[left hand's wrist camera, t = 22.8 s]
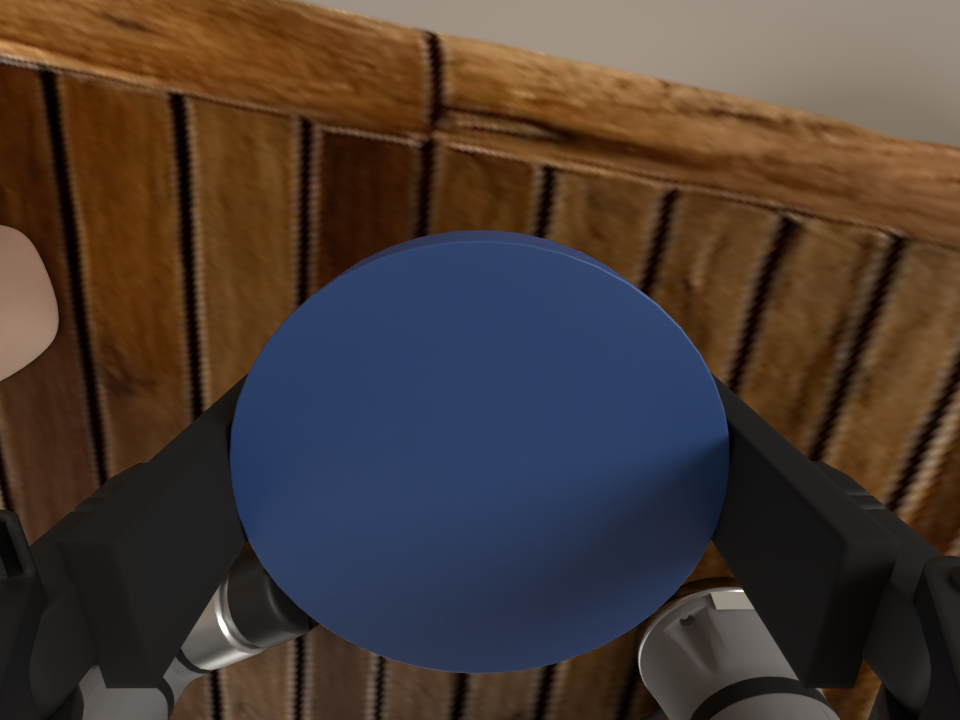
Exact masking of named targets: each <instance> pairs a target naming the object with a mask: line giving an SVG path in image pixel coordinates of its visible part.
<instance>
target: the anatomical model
mask: <svg viewBox="0 0 960 720" xmlns="http://www.w3.org/2000/svg"><path fill="white" fill-rule="evenodd" d="M58 323H59V315H58V307H57V301H56V297H55V294H54V290H53V287H52V284H51V281H50V278H49V276H48V273H47V271H46V269H45V266H44V264H43V262H42V260H41V258H40V256H39V254H38V252H37V250H36V248H35V247H34V245H33V244H32V243H31V241H30V240H29V239H28V238H27V237H26V236H25V235H24V234H22V233H21V232H20V231H18V230H16V229H14V228H10V227H7V226H2V225H0V381H1V380H3V379H5V378H7V377H9V376H11V375H12V374H14V373H16V372H17V371H19V370H20V369H22V368H23V367H25V366H26V365H27V364H29V363H30V362H32V361H33V360H34V359H35V358H37V357H38V356H39V355H40V354H41V353H42V352H43V351H45V350H46V349H47V348H48V346H49V345H50V344H51V343H52V341H53V340H54V338H55V336H56V333H57V330H58Z"/></svg>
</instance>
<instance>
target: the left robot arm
mask: <svg viewBox="0 0 960 720" xmlns="http://www.w3.org/2000/svg"><path fill="white" fill-rule="evenodd" d="M710 373H711V372H710ZM711 375H712V377H713V379H714V381H715V383H716V386H717V389H718V392H719V395H720V398H721V401H722V404H723V407H724V410H725V416H726V422H727V428H728V434H729V440H730V472H729V478H728V483H727V489H726V495H725V500H724V504H723V509H722V512H721V516H720V519H719V522H718V525H717V527H716V529H715V532H714V534H713V536H712V538H711V540H712V541H713V543H714V545H715V546H716V548H717V549H718V551H719V553H720V554H721V556H722V557H723V559H724V561H725V562H726V564H727V565H728V567H729V569H730V570H731V572H732V574H733V575H734V577H735V578H714V579H707V580H702V581H699V582H695V583H692V584H689V585H686V586H684V587H682V588H679V589H678V590H677V591H676V592H675V593H674V594H673V595H672V596H671V597H670V598H669V599H668V600H667V601H666V602H665V603H664V604H663V605H662V606H660V607H659V608H658V609H657V610H656V611H655V612H654V613H653V614H651V615H650V616H649V617H647V618H646V619H645V620H643V621H642V622H641V624H640V626H639V628H638V631H637V634H636V638H635V646H634V649H635V657H636V661H637V664H638V667H639V671H640V674H641V677H642V679H643V682H644V684H645V686H646V687H647V689H648V690H649V692H650V693H651V695H652V696H653V697H654V698H655V699H656V700H657V702H658V703H659V705H660V706H661V707H659V708H658V709H657V710H655V711H654V712H652V713H651V714H650V715H648V716H646V717H644V718H642V719H640V720H661V719H663V718H664V717H666V716H668V718H669V719H670V720H840V719H839V718H838V716H837V715H836V713H835V712H834V710H833V709H832V707H831V706H830V704H829V703H828V701H827V700H826V698H825V696H824V695H823V693H822V690H821V688H854V685H855V682H856V679H857V676H858V673H859V670H860V667H861V664H862V661H863V658H864V659H865V661H866V662H867V663H868V665H869V666H870V667H871V668H872V670H873V671H874V672H875V673H876V675H877V676H878V677H879V679H880V680H881V681H882V683H881V686H880V688H879V691H878V694H877V697H876V699H875V702H874V705H873V708H872V711H871V713H870V716H869V719H868V720H960V557H956V556H944V555H943V554H942V553H940V552H939V551H938V550H937V549H936V548H934V547H933V546H932V545H931V544H930V543H928V542H927V541H926V540H925V539H924V538H922V537H921V536H920V535H919V534H918V533H916V532H915V531H914V530H913V529H912V528H910V527H909V526H908V525H907V524H906V523H904V522H903V521H902V520H901V519H900V518H899V517H897V516H896V515H895V514H894V513H893V512H891V511H890V510H886V509H885V506H884V505H883V504H882V503H881V502H879V501H878V500H877V499H876V498H875V497H873V496H869V495H868V492H867V491H866V490H865V489H864V488H863V487H861V486H860V485H859V484H858V483H857V482H855V481H854V480H853V479H852V478H851V477H849V476H848V475H846V474H844V473H842V472H840V471H839V470H837V469H835V468H833V467H831V466H829V465H827V464H825V463H823V462H821V461H810V460H809V459H807V458H806V457H805V456H804V455H803V454H802V453H801V452H800V451H798V450H797V449H796V448H795V447H794V446H793V445H792V444H791V443H789V442H788V441H787V440H786V439H785V438H784V437H783V436H782V435H780V434H779V433H778V432H777V431H776V430H775V429H774V428H773V427H771V426H770V425H769V424H768V423H767V422H766V421H765V420H764V419H762V418H761V417H760V416H759V415H758V414H757V413H756V412H755V411H753V410H752V409H751V408H750V407H749V406H748V405H747V404H746V403H744V402H743V401H742V400H741V399H740V398H739V397H738V396H737V395H735V394H734V393H733V392H732V391H731V390H730V389H729V388H728V387H726V386H725V385H724V384H723V383H722V382H721V381H720V380H719V379H717V378H716V377H715V376H714V375H713V374H712V373H711ZM247 376H248V374H247V375H246V376H244V377H243V378H242V379H241V380H240V381H239V382H238V383H237V384H235V385H234V386H233V387H232V388H231V389H230V390H229V391H228V392H226V393H225V394H224V395H223V396H222V397H221V398H220V399H219V400H217V401H216V402H215V403H214V404H213V405H212V406H211V407H210V408H208V409H207V410H206V411H205V412H204V413H203V414H202V415H201V416H199V417H198V418H197V419H196V420H195V421H194V422H193V423H192V424H190V425H189V426H188V427H187V428H186V429H185V430H184V431H183V432H181V433H180V434H179V435H178V436H177V437H176V438H175V439H174V440H172V441H171V442H170V443H169V444H168V445H167V446H166V447H165V448H163V449H162V450H161V451H160V452H159V453H158V454H157V455H156V456H154V457H153V458H152V459H151V460H150V461H149V462H148V463H138V464H137V465H135V466H133V467H131V468H129V469H127V470H125V471H123V472H121V473H119V474H117V475H116V476H114V477H112V478H111V479H109V480H108V481H107V482H106V483H105V484H103V485H102V486H101V487H100V488H99V489H97V490H96V491H95V492H94V493H93V494H92V497H91V498H87V499H86V500H84V501H83V502H82V503H81V504H80V505H78V506H77V507H76V508H75V512H70V513H69V514H68V515H67V516H65V517H64V518H63V519H62V520H61V521H59V522H58V523H57V524H56V525H55V526H54V527H52V528H51V529H50V530H49V531H48V532H46V533H45V534H44V535H43V536H42V537H40V538H39V539H38V540H37V541H36V542H35V543H33V544H32V545H31V546H30V547H29V545H28V542H27V539H26V537H25V534H24V531H23V528H22V526H21V523H20V520H19V517H18V515H17V514H15V513H13V512H11V511H9V510H0V720H82V719H83V712H84V700H83V694H82V691H81V688H80V686H79V682H80V681H81V680H82V679H83V677H84V676H85V675H86V673H87V672H88V671H89V670H90V668H91V667H92V666H93V664H94V663H95V662H96V661H97V662H98V665H99V668H100V671H101V674H102V677H103V680H104V683H105V686H106V688H156V687H157V686H158V684H159V682H160V681H161V679H162V677H163V676H164V674H165V673H166V671H167V669H168V668H169V666H170V665H171V663H172V661H173V660H174V658H175V657H176V655H177V653H178V652H179V650H180V649H181V647H182V645H183V644H184V642H185V640H186V639H187V637H188V636H189V634H190V632H191V631H192V629H193V628H194V626H195V624H196V623H197V621H198V620H199V618H200V616H201V615H202V613H203V612H204V610H205V608H206V607H207V605H208V604H209V602H210V600H211V599H212V597H213V595H214V594H215V592H216V591H217V589H218V587H219V586H220V584H221V583H222V581H223V579H224V578H225V576H226V575H227V573H228V571H229V570H230V568H231V567H232V565H233V563H234V562H235V560H236V559H237V557H238V555H239V554H240V552H241V550H242V549H243V547H244V546H245V544H246V542H247V541H248V538H247V536H246V533H245V531H244V528H243V526H242V523H241V521H240V518H239V516H238V512H237V507H236V502H235V497H234V492H233V487H232V481H231V475H230V463H229V453H230V438H231V428H232V423H233V419H234V414H235V410H236V406H237V401H238V398H239V396H240V393H241V391H242V388H243V386H244V383H245V381H246V378H247Z"/></svg>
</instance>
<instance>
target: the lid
mask: <svg viewBox="0 0 960 720" xmlns="http://www.w3.org/2000/svg"><path fill="white" fill-rule="evenodd" d="M229 463H230V475H231V481H232V487H233V492H234V497H235V502H236V507H237V512H238V516H239V518H240V521H241V523H242V526H243V528H244V531H245V533H246V536H247V538H248V541H249V542H250V544H251V546H252V548H253V549H254V551H255V553H256V555H257V556H258V558H259V560H260V562H261V563H262V565H263V566H264V568H265V569H266V570H267V572H268V573H269V574H270V576H271V577H272V578H273V580H274V581H275V582H276V584H277V585H278V586H279V587H280V588H281V589H282V590H283V591H284V592H285V593H286V594H287V595H288V596H289V597H290V598H291V600H292V601H293V602H294V603H295V604H296V605H297V606H298V607H300V608H301V609H302V610H303V611H305V612H306V613H307V614H308V615H310V616H311V617H312V618H313V619H314V620H316V621H317V622H318V623H320V624H321V625H323V626H324V627H326V628H327V629H329V630H330V631H332V632H334V633H335V634H337V635H338V636H340V637H341V638H343V639H345V640H347V641H349V642H351V643H353V644H355V645H357V646H359V647H361V648H363V649H365V650H367V651H370V652H373V653H375V654H378V655H381V656H383V657H386V658H389V659H391V660H394V661H398V662H402V663H406V664H409V665H413V666H417V667H421V668H427V669H434V670H440V671H446V672H460V673H503V672H511V671H519V670H527V669H533V668H537V667H541V666H546V665H550V664H555V663H558V662H561V661H564V660H567V659H570V658H573V657H576V656H579V655H582V654H585V653H587V652H589V651H591V650H594V649H596V648H598V647H600V646H602V645H605V644H607V643H609V642H611V641H612V640H614V639H616V638H617V637H619V636H621V635H622V634H624V633H626V632H628V631H629V630H631V629H633V628H634V627H635V626H637V625H638V624H639V623H641V622H642V621H643V620H645V619H646V618H647V617H649V616H650V615H651V614H653V613H654V612H655V611H656V610H657V609H658V608H659V607H660V606H662V605H663V604H664V603H665V602H666V601H667V600H668V599H669V598H670V597H671V596H672V595H673V594H674V593H675V592H676V591H677V590H678V588H679V587H680V586H681V585H682V584H683V582H684V581H685V580H686V579H687V577H688V576H689V575H690V574H691V573H692V571H693V570H694V568H695V566H696V565H697V563H698V562H699V560H700V559H701V557H702V555H703V554H704V552H705V551H706V549H707V547H708V545H709V543H710V540H711V538H712V536H713V534H714V532H715V529H716V527H717V525H718V522H719V519H720V516H721V512H722V509H723V504H724V500H725V495H726V489H727V483H728V478H729V472H730V440H729V434H728V428H727V422H726V416H725V410H724V407H723V404H722V401H721V398H720V395H719V392H718V389H717V386H716V383H715V381H714V379H713V377H712V375H711V373H710V371H709V369H708V367H707V365H706V364H705V362H704V360H703V358H702V356H701V354H700V353H699V351H698V350H697V348H696V347H695V346H694V344H693V343H692V342H691V340H690V339H689V338H688V336H687V335H686V333H685V332H684V331H683V329H682V328H681V327H680V326H679V325H678V324H677V323H676V322H675V321H674V320H673V319H672V318H671V317H670V316H669V315H668V314H667V313H666V312H665V311H664V310H663V309H662V308H661V307H660V306H659V305H658V304H657V303H656V302H655V301H653V300H652V299H651V298H649V297H648V296H647V295H646V294H644V293H643V292H642V291H640V290H639V289H638V288H636V287H635V286H634V285H632V284H631V283H630V282H628V281H627V280H626V279H624V278H623V277H622V276H620V275H619V274H618V273H616V272H615V271H614V270H612V269H611V268H610V267H608V266H606V265H604V264H602V263H601V262H599V261H597V260H595V259H593V258H592V257H590V256H588V255H586V254H584V253H582V252H580V251H578V250H575V249H572V248H570V247H567V246H564V245H562V244H559V243H556V242H554V241H551V240H547V239H542V238H538V237H534V236H529V235H525V234H521V233H512V232H501V231H491V230H476V231H452V232H447V233H441V234H436V235H430V236H424V237H419V238H416V239H413V240H410V241H407V242H404V243H401V244H398V245H395V246H391V247H388V248H386V249H384V250H382V251H380V252H378V253H376V254H374V255H372V256H370V257H368V258H366V259H364V260H362V261H360V262H358V263H357V264H355V265H354V266H352V267H351V268H349V269H348V270H346V271H345V272H343V273H342V274H340V275H339V276H337V277H336V278H334V279H333V280H332V281H330V282H329V283H328V284H326V285H325V286H324V287H322V288H321V289H320V290H318V291H317V292H316V293H314V294H313V295H312V296H311V297H310V298H309V299H307V300H306V301H305V302H304V303H303V304H302V305H301V306H300V307H299V308H297V309H296V310H295V311H294V312H293V313H292V314H291V315H290V316H289V317H288V318H286V320H285V321H284V322H283V323H282V324H281V326H280V327H279V328H278V329H277V331H276V332H275V333H274V334H273V335H272V337H271V338H270V339H269V340H268V342H267V343H266V344H265V346H264V347H263V349H262V351H261V352H260V354H259V356H258V357H257V359H256V361H255V362H254V364H253V366H252V368H251V369H250V371H249V373H248V376H247V378H246V381H245V383H244V386H243V388H242V391H241V393H240V396H239V398H238V401H237V406H236V410H235V414H234V419H233V423H232V428H231V438H230V453H229Z"/></svg>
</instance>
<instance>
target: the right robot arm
mask: <svg viewBox="0 0 960 720" xmlns="http://www.w3.org/2000/svg"><path fill="white" fill-rule="evenodd" d="M319 624H320V623H318V622H317V621H316V620H314V619H313V618H312V617H311V616H310V615H308V614H307V613H306V612H305V611H303V610H302V609H301V608H300V607H298V606H297V605H296V604H295V603H294V602H293V601H292V600H291V598H290V597H289V596H288V595H287V594H286V593H285V592H284V591H283V590H282V589H281V588H280V587H279V586H278V585H277V584H276V582H275V581H274V580H273V578H272V577H271V576H270V574H269V573H268V572H267V570H266V569H265V568H264V566H263V565H262V563H261V562H260V560H259V558H258V556H257V555H256V553H255V551H254V549H253V548H251V549H249V550H247V551H245V552H244V553H242V554H240V555H238V557H237V559H236V560H235V562H234V563H233V565H232V567H231V568H230V570H229V571H228V573H227V575H226V576H225V578H224V579H223V581H222V583H221V584H220V586H219V587H218V589H217V591H216V592H215V594H214V595H213V597H212V599H211V600H210V602H209V604H208V605H207V607H206V608H205V610H204V612H203V613H202V615H201V616H200V618H199V620H198V621H197V623H196V624H195V626H194V628H193V629H192V631H191V632H190V634H189V636H188V637H187V639H186V640H185V642H184V644H183V645H182V647H181V649H180V650H179V652H178V653H177V655H176V657H175V658H174V660H173V661H172V663H171V665H170V666H169V668H168V669H167V671H166V673H165V674H164V676H163V677H162V679H161V681H160V682H159V684H158V686H157V687H156V688H106V686H105V683H104V680H103V677H102V674H101V671H100V668H99V665H98V662H97V661H96V662H95V663H94V664H93V666H92V667H91V668H90V670H89V671H88V672H87V673H86V675H85V676H84V677H83V679H82V680H81V681H80V682H79V686H80V688H81V691H82V694H83V700H84V712H83V719H82V720H168V719H169V717H170V715H171V714H172V711H173V709H174V706H175V704H176V703H177V701H178V699H179V697H180V696H181V694H182V692H183V690H184V688H185V687H186V686H187V685H188V684H189V683H190V682H191V681H192V680H194V679H196V678H199V677H201V676H203V675H205V674H207V673H211V672H212V671H215V670H217V669H220V668H223V667H225V666H228V665H231V664H233V663H236V662H238V661H241V660H243V659H246V658H248V657H251V656H254V655H256V654H259V653H261V652H263V651H264V650H266V649H268V648H271V647H274V646H277V645H279V644H282V643H284V642H287V641H289V640H291V639H294V638H296V637H299V636H301V635H304V634H306V633H308V632H309V631H311V630H312V629H314V628H315V627H316V626H318V625H319Z"/></svg>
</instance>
